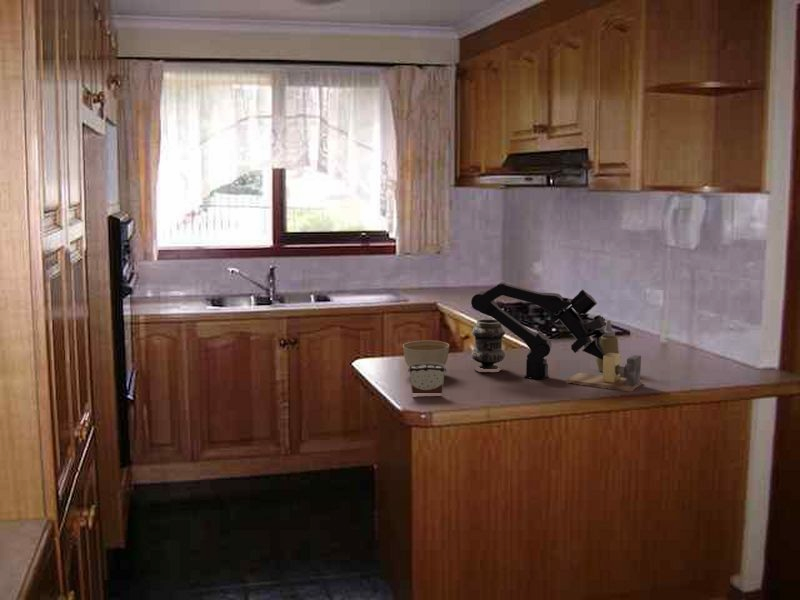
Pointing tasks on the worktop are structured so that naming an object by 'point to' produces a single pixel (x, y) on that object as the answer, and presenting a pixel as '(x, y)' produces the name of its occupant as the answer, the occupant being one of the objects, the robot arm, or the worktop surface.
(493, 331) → the apothecary jar
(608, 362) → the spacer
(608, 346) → the squeeze bottle
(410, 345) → the planter bowl
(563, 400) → the worktop surface
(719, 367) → the worktop surface
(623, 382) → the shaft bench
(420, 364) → the food container
